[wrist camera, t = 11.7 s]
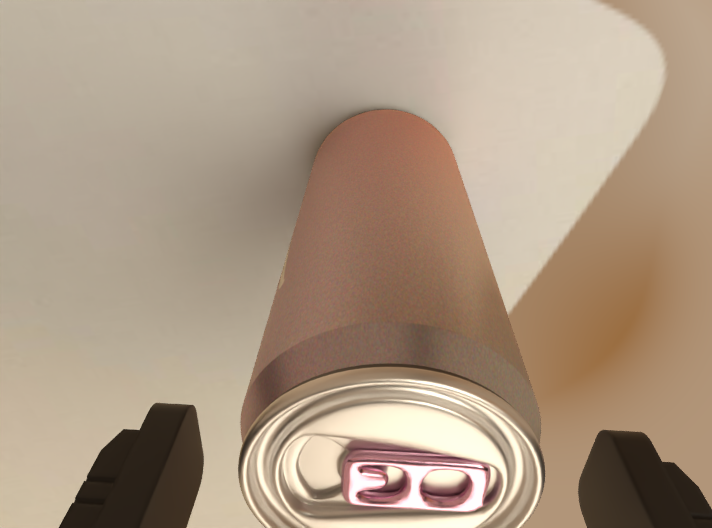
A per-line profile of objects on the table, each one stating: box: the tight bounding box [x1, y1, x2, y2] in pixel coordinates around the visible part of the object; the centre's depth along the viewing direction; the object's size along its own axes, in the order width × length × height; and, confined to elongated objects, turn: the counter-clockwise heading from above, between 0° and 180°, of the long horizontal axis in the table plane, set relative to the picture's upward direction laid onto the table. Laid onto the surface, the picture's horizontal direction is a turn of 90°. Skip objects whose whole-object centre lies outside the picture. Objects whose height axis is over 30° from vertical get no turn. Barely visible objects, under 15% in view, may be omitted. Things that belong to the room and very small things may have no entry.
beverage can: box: [238, 109, 545, 528], centre depth 16 cm, size 6×6×15 cm
